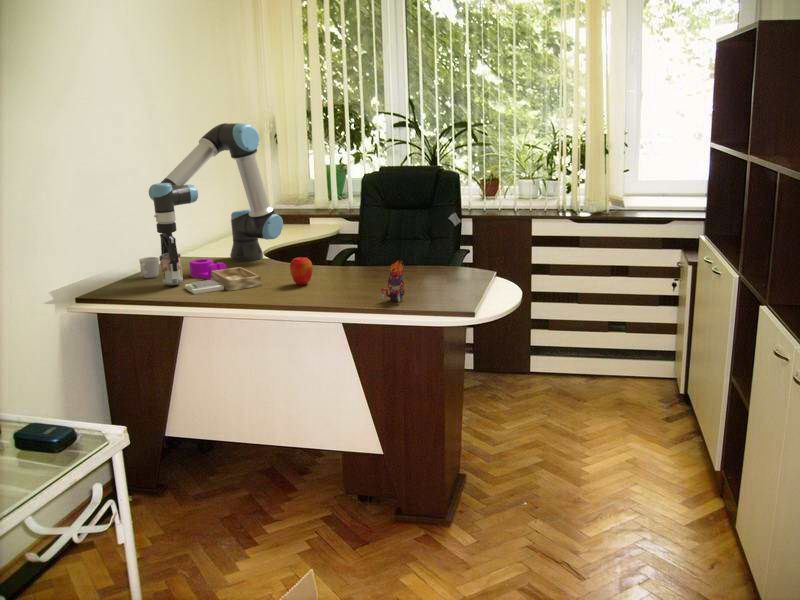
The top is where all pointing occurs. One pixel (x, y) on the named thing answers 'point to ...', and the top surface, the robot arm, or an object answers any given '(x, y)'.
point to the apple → (301, 270)
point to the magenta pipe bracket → (204, 268)
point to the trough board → (236, 278)
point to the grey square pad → (203, 284)
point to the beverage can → (169, 270)
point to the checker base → (203, 290)
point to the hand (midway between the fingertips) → (172, 276)
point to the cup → (149, 267)
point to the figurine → (395, 283)
